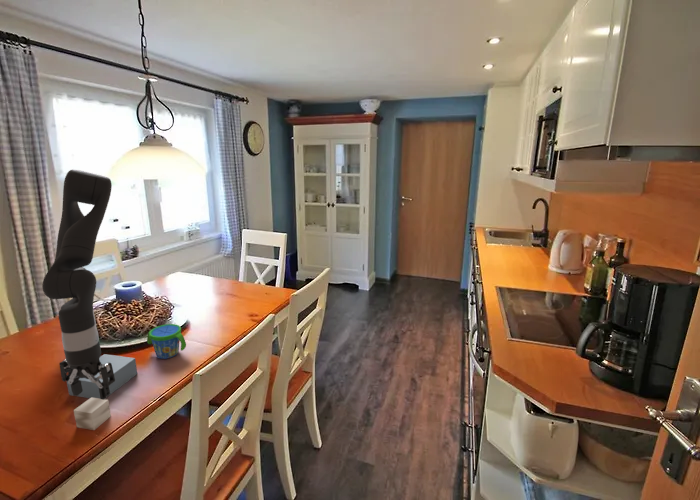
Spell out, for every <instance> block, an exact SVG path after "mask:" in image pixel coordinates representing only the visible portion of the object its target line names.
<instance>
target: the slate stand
mask: <svg viewBox="0 0 700 500" xmlns="http://www.w3.org/2000/svg"><path fill="white" fill-rule="evenodd" d="M99 360H100V362H101V364H107V363H108V362H110V363H111V364H112V368H113V373H114V377H115V382H113V383H112V384H111V385H109V390H110V395H112V394H113V393H114V392H116V391H117V390H118V389H119V388H122V386H124V385H125V384H126V383H127V382H129V381H130V380H132V379H133V378H134V377H135V376H136V375H138V369H137V362H136V358H135V357H128V356H121V355H114V354H105V353H104V354H103V355H102V354H101V356H100V358H99ZM98 376H100V374H99V373H98V374H97V375H96V376H94V377H95V378H97V377H98ZM108 379H109V378H108ZM79 380H81V385H82V390H83V391H82V393H80V394H79V395H77V396H76V397H80V398H85V399H86V398H87V399H90V398H91V397H92V398H99V399H100V393H99V387H98V386H97V385H96V383H92V382H91V381H90V379H86V378H80V379H79ZM99 380H100V381H101V383H102V382H103V380H102V379H99ZM66 386H67V391H68V395H69V396H73V397H75V396H74V395H73V393H72V389H71V384H69V383H68V381H66Z"/></svg>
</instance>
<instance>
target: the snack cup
mask: <svg viewBox="0 0 700 500" xmlns="http://www.w3.org/2000/svg"><path fill="white" fill-rule="evenodd" d="M181 332H182V327H181V326H180V325H179V324H176V323H167V324H161V325H158V326H156V327H154V328H152V329H151V330H149V331H148V333H147V338H146V340H147V341H146V342H147V344H148V345H152V346H153V349H154V352H155V356H156V358H158V359H160V360H161V359H164V360H167V359H171V358H173V357H176V356H177V355H178V353H179V350H180V352H181V351H184V350H185V349H186V347H187V343H186V339H185V337H184V335H183V334H182V333H181Z"/></svg>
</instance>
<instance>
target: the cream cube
mask: <svg viewBox="0 0 700 500" xmlns="http://www.w3.org/2000/svg"><path fill="white" fill-rule="evenodd" d="M109 403H110V402H109V399H106V398H105V399H104V400H103V399H99V398H92V397H91V398H87V400H86V401H84V402H82V404H80V405H78V407H76V408H75V409H73V415H74V419H75V423H76V428H78V429H86V430H91V431H95V430H96V429H98V428H99V427H100V426H101V425H103V424H104V422H106V421H107V420H108V419H109V418H110V417H112V413H111V408H110V404H109Z"/></svg>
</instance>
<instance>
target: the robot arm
mask: <svg viewBox="0 0 700 500" xmlns="http://www.w3.org/2000/svg"><path fill="white" fill-rule="evenodd" d="M62 191H63V192H62V207H61V208H62V210H61V218H60V223H59V227H58V233H57V239H56V251H55V257H54V261H53V263H52V264H51V266H50V267H49V269H48V271H47V272H46V274H45V275H44V278H43V279H42V280H43V281H42V285H41V286H42V287H41V289H42V291H43V293H44V295H45V297H47V298H48V299H50V300H64V299H70V300H68V301H67V302H65V303H64V304H62V305H61V306H60V309H59V311H58V321H59V325H60V331H61V341H62V346H63V347H62V348H63V352H64V357H65V359H63V360H62V361H60V362H59V369H60V375H61V376H60V377H61V381H62V382H63V383H64V382H67V381H68V383H69V384H71V389H72V393H73V395H74V396H73V397H78V396H77V395H79V394H80V393H82V391H83V390H82V385H81V380H79V379H80V378H86V379H90V381H91V382H92V383H96V385H97V386H98V387H99V393H100V399H103V400H104V399H105V400H106V399H107V398H108V397H109V396H111V394H110V390H109V385H111V384H112V383H113V382H115V377H114V373H113V368H112V364H111V363H110V362H108V363H107V364H101V362H100V360H99V358H100V357H101V356H102V350H101V343H100V339H99V332H98V329H97V322H96V317H95V312H94V311H95V310H94V297H95V294H96V293H95V292H96V289H97V279H96V276H95V274H94V273H93V271H90V270H89V269H87V268H85V267H87V266H90V264H91V263H92V261H93V258H94V252H95V246H96V243H97V242H96V241H97V237H98V234H99V230H100V228H101V225H102V223H103V220H104V217H105V214H106V212H107V208H108V204H109V202H110V197H111V193H112V181H111V178H109V177H107V176H106V175H102V174H97V173H93V172H88V171H84V170H80V169H74V168H73V169H70V170H68V172H67V173H66V174H65V177H64V181H63V190H62ZM79 203H81V204H85V205H86V204H88V205H92V206H93V207H92V209H91V210H90V211H89V212H88V213H86V215H84V214H83V212H82V211H81V208H80V206H79ZM98 373H99V374H100V376H98V377H97V378H95V377H94V376H96V375H97V374H98ZM108 378H109V379H108ZM99 379H102V380H103V382H102V383H101V381H100V380H99Z"/></svg>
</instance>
